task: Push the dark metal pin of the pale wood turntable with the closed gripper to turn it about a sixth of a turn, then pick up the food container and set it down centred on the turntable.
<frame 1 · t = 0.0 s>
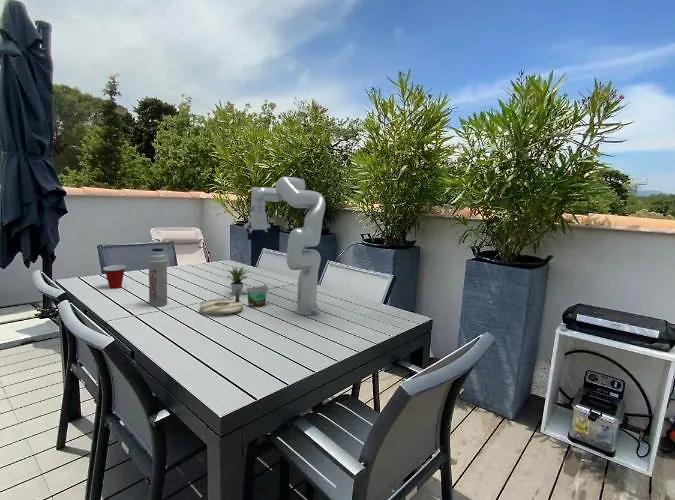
hand: (257, 239, 208), 31 cm above the table, tool pointing down, fingers open, 9 cm apart
food container: (259, 305, 187), on the table
thermos bottle: (158, 304, 180), on the table
turntable: (221, 301, 176), point 5 cm above the table, hinge at 0.0°
plastic cup: (115, 287, 205), on the table
house plant: (237, 294, 206), on the table
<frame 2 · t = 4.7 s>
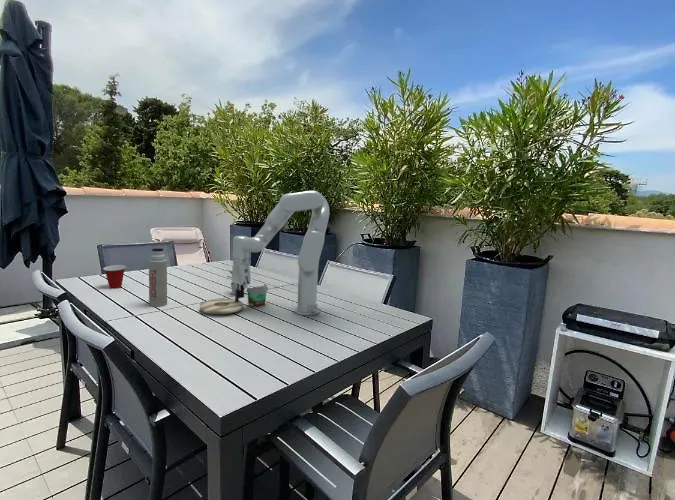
hand: (240, 297, 180), 6 cm above the table, tool pointing down, fingers closed
turntable: (221, 301, 176), point 5 cm above the table, hinge at 3.3°, touching gripper
everything else where it was.
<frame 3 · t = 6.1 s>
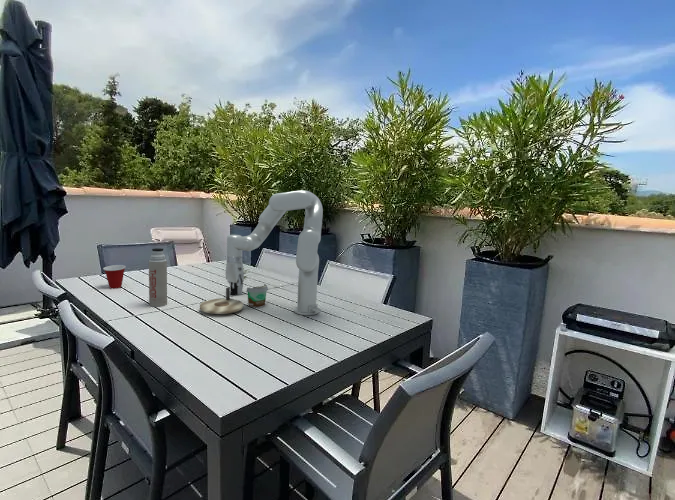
hand: (233, 295, 183), 6 cm above the table, tool pointing down, fingers closed
turntable: (221, 301, 176), point 5 cm above the table, hinge at 41.6°, touching gripper
everything else where it was.
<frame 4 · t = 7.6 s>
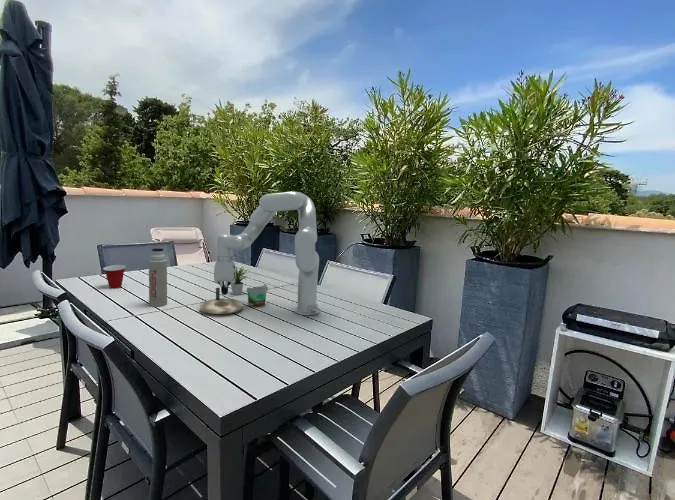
hand: (224, 294, 184), 6 cm above the table, tool pointing down, fingers closed
turntable: (221, 301, 176), point 5 cm above the table, hinge at 75.2°
everything else where it was.
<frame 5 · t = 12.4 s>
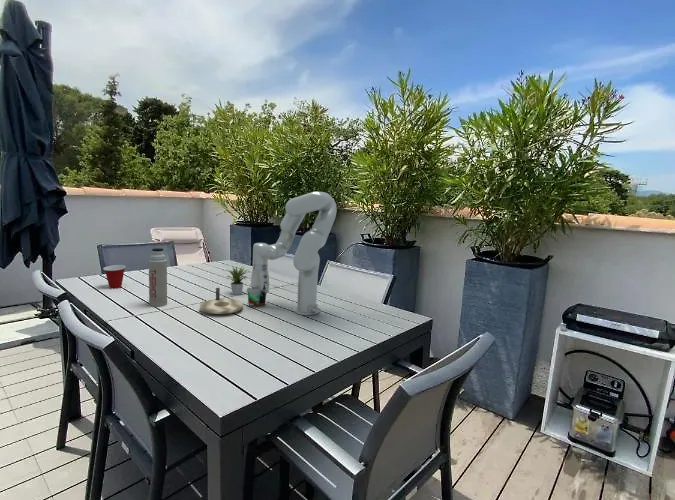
hand: (258, 301, 187), 2 cm above the table, tool pointing down, fingers closed on food container, 5 cm apart
food container: (259, 305, 187), on the table, touching gripper
everything else where it was.
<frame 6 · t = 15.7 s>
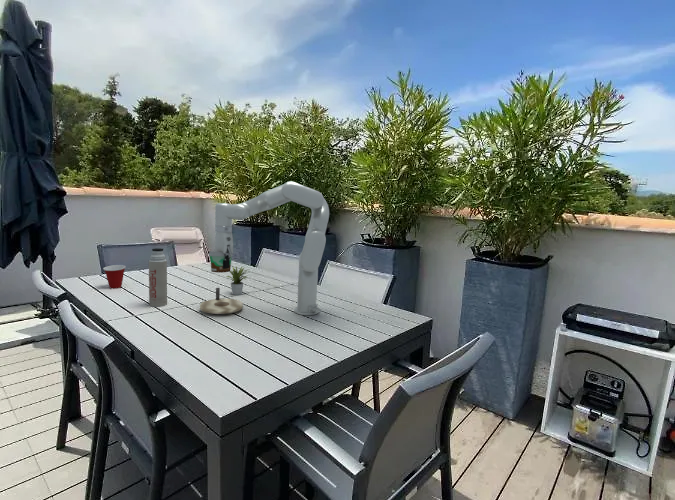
hand: (222, 266, 173), 22 cm above the table, tool pointing down, fingers closed on food container, 5 cm apart
food container: (223, 271, 173), point 19 cm above the table, touching gripper
everything else where it was.
when the fingers open (6 cm above the table, at t = 19.0 s): food container drops 1 cm, resting on turntable.
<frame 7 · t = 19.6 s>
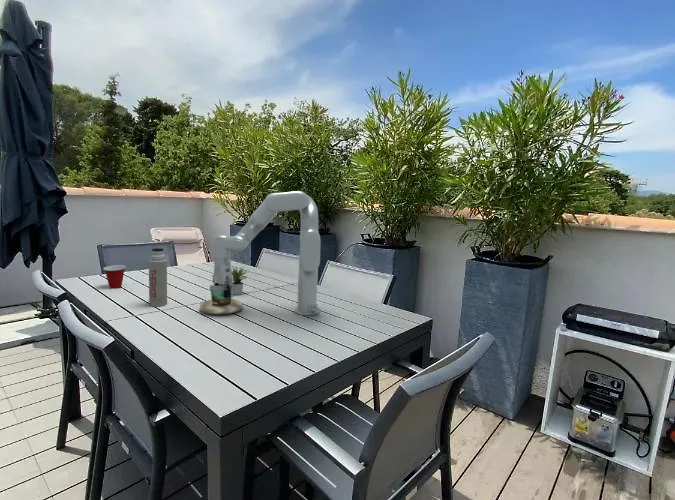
hand: (222, 295, 175), 7 cm above the table, tool pointing down, fingers open, 9 cm apart
food container: (224, 304, 175), point 3 cm above the table, touching gripper, turntable
turntable: (221, 301, 176), point 5 cm above the table, hinge at 75.2°, touching food container
everything else where it was.
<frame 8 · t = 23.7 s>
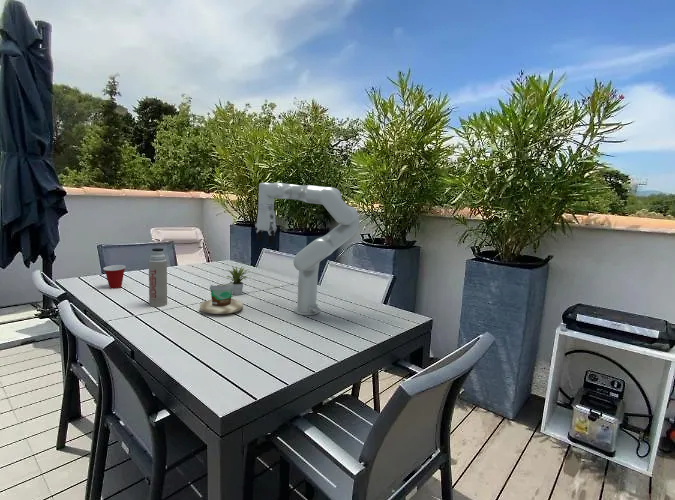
hand: (265, 242, 182), 33 cm above the table, tool pointing down, fingers open, 9 cm apart
food container: (224, 304, 175), point 3 cm above the table, touching turntable
everything else where it was.
at the end: turntable at +75° (first picture: +0°); food container 1.6 cm from the turntable (horizontally); food container tilted 0° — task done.
